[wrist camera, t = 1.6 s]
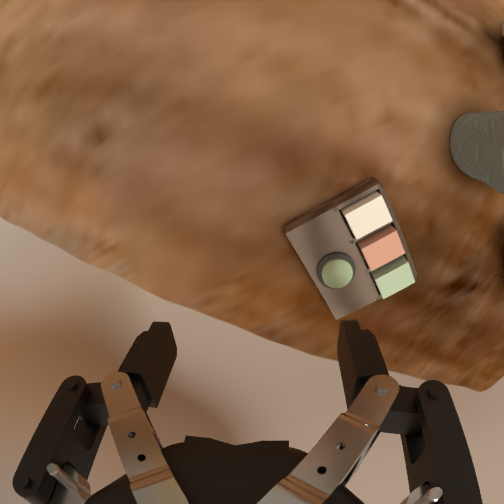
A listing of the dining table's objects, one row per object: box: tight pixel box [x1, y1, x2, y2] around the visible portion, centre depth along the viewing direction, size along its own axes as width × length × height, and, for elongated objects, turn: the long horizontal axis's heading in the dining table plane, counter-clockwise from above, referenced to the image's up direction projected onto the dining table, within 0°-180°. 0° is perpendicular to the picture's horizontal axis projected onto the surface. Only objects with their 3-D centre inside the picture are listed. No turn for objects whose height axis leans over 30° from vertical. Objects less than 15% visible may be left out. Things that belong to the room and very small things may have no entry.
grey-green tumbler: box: [450, 111, 504, 194], centre depth 23 cm, size 10×10×12 cm
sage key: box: [371, 255, 415, 299], centre depth 34 cm, size 5×3×2 cm
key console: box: [285, 177, 418, 320], centre depth 35 cm, size 12×14×4 cm
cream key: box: [341, 190, 393, 239], centre depth 31 cm, size 5×3×2 cm
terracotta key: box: [357, 224, 405, 271], centre depth 33 cm, size 5×3×2 cm
